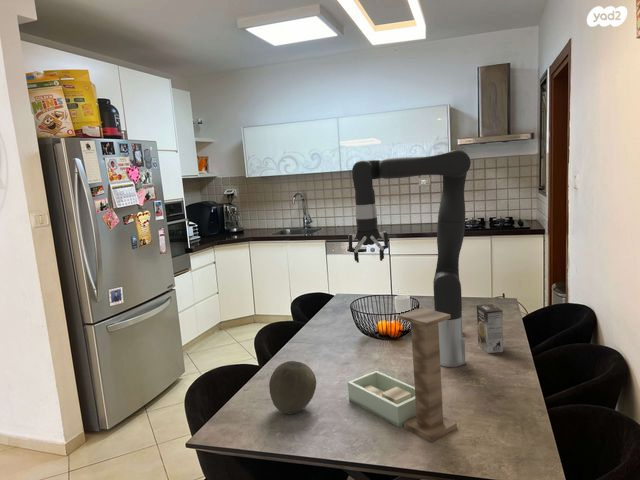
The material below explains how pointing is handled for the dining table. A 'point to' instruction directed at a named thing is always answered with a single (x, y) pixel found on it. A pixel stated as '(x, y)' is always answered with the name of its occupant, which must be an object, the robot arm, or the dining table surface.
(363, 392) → the open box
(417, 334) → the shelf stand
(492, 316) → the coffee box
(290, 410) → the cantaloupe
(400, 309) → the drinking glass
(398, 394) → the peg
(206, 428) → the dining table surface
